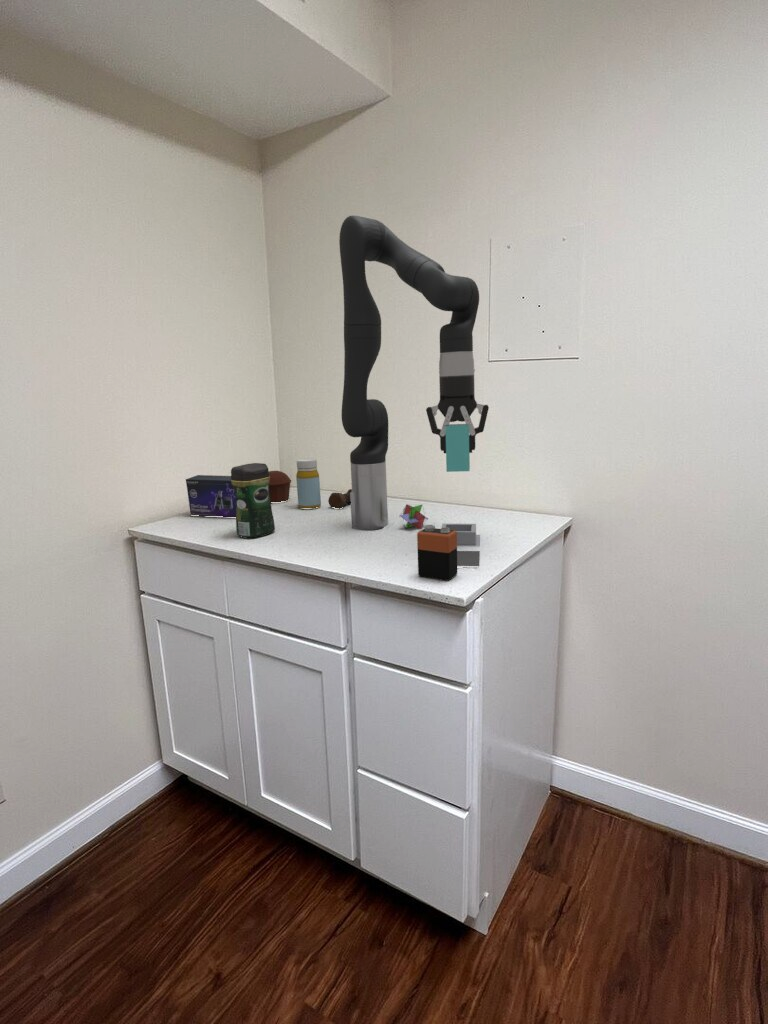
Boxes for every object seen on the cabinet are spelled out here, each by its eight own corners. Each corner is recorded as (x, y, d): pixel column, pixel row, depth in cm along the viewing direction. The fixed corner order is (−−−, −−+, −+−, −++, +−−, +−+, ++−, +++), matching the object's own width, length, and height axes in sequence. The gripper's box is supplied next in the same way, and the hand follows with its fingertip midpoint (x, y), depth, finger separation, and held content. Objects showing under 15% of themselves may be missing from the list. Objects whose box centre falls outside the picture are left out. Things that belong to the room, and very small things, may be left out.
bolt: (362, 505, 190) (337, 513, 177) (351, 497, 192) (325, 504, 179) (369, 490, 188) (345, 498, 175) (357, 482, 190) (332, 489, 177)
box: (189, 517, 175) (184, 478, 172) (202, 512, 181) (198, 474, 178) (238, 519, 169) (234, 479, 167) (250, 514, 175) (246, 475, 173)
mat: (430, 567, 119) (429, 564, 119) (434, 553, 129) (434, 550, 129) (479, 568, 117) (479, 565, 117) (479, 553, 127) (479, 551, 127)
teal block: (446, 471, 128) (445, 426, 125) (447, 468, 132) (446, 424, 130) (469, 471, 127) (468, 425, 125) (469, 467, 132) (469, 423, 129)
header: (435, 548, 132) (435, 533, 132) (439, 536, 142) (438, 522, 141) (479, 548, 131) (479, 533, 130) (480, 536, 140) (480, 522, 140)
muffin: (275, 506, 186) (272, 475, 183) (250, 503, 192) (247, 473, 189) (299, 499, 195) (297, 469, 193) (275, 496, 201) (273, 468, 199)
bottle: (319, 509, 178) (316, 461, 174) (297, 510, 178) (293, 461, 175) (322, 504, 185) (319, 457, 181) (300, 505, 185) (297, 458, 181)
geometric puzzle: (438, 521, 148) (423, 494, 150) (420, 526, 144) (405, 499, 145) (421, 534, 153) (407, 508, 155) (404, 539, 148) (389, 513, 150)
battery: (427, 570, 117) (426, 522, 115) (458, 574, 114) (457, 525, 112) (417, 576, 114) (415, 527, 112) (449, 581, 110) (448, 531, 108)
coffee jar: (260, 528, 157) (254, 460, 153) (280, 532, 153) (274, 462, 149) (231, 536, 150) (224, 465, 146) (251, 540, 145) (244, 467, 141)
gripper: (422, 375, 123) (424, 455, 126) (490, 372, 120) (491, 454, 124) (425, 376, 130) (427, 451, 134) (490, 372, 128) (490, 449, 131)
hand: (458, 452), depth 129 cm, fingers closed on teal block, 5 cm apart
